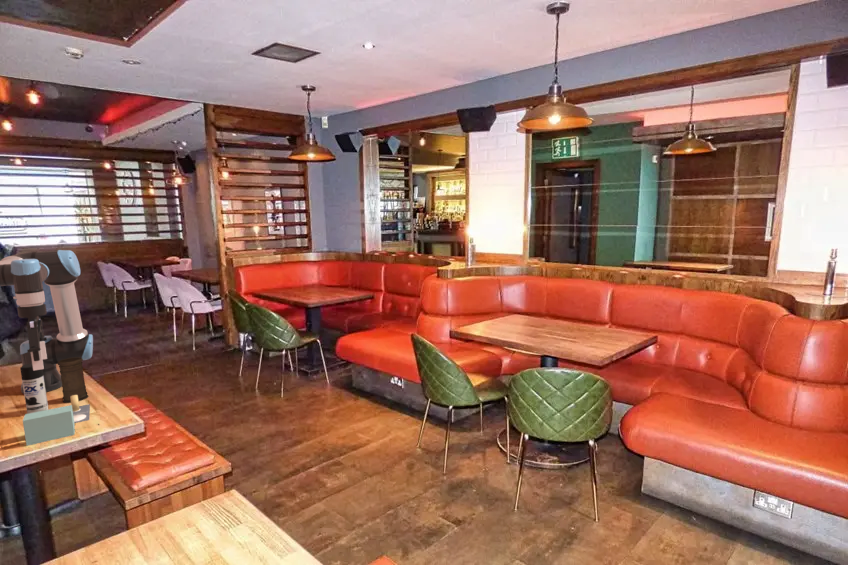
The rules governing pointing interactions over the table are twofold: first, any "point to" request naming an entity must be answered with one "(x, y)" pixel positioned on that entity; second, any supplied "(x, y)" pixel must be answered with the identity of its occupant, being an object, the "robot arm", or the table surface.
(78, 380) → the container
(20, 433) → the table surface
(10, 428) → the table surface
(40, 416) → the pale green block
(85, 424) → the table surface
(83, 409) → the slate board
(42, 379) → the spray can
